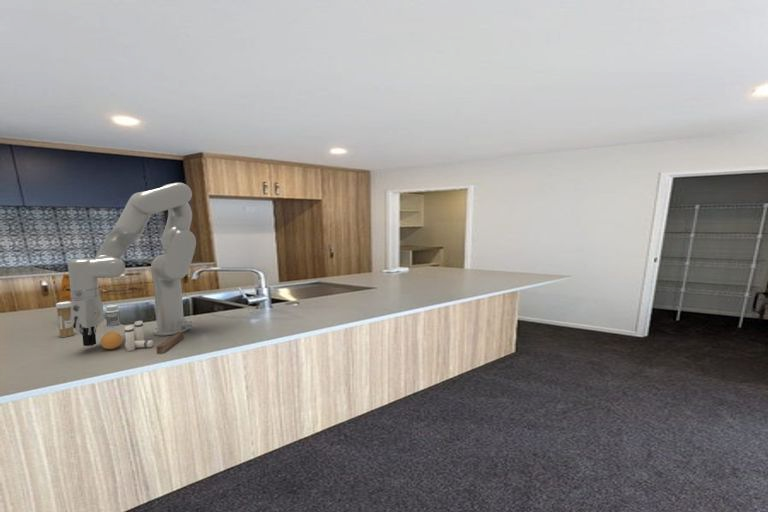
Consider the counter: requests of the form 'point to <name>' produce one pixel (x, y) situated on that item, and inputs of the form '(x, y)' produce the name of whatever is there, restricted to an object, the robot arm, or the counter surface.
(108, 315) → the pill bottle
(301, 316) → the counter surface
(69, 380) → the counter surface
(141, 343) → the front pin
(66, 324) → the sprinkles bottle
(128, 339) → the pin
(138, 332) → the pin
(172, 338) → the brown wooden bar
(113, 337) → the ball
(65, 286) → the coffee package
